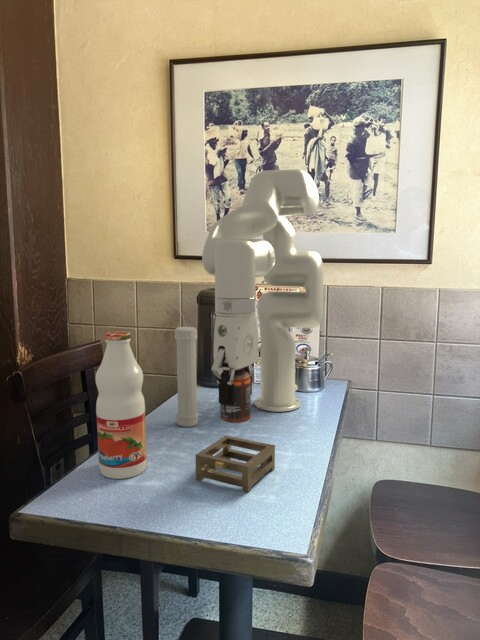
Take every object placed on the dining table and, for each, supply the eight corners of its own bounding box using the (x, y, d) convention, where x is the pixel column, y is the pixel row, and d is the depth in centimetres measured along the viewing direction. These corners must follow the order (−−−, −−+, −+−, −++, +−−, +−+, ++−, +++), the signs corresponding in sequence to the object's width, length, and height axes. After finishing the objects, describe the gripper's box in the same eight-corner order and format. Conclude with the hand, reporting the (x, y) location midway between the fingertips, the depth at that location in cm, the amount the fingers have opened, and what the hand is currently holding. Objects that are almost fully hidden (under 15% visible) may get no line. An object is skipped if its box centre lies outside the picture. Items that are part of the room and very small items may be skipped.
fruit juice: (154, 462, 109) (150, 329, 105) (134, 482, 100) (129, 338, 96) (113, 457, 112) (107, 327, 107) (90, 477, 103) (82, 336, 98)
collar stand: (225, 457, 111) (225, 435, 111) (274, 469, 106) (274, 445, 105) (193, 481, 101) (193, 456, 100) (246, 494, 95) (245, 468, 95)
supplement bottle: (249, 413, 105) (249, 358, 103) (252, 423, 99) (252, 365, 97) (219, 414, 105) (218, 358, 103) (220, 424, 99) (220, 365, 97)
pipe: (195, 428, 129) (193, 306, 124) (170, 426, 130) (167, 306, 125) (201, 420, 134) (199, 303, 129) (177, 418, 135) (175, 303, 131)
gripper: (229, 313, 89) (230, 415, 92) (273, 302, 104) (272, 390, 107) (192, 310, 93) (194, 409, 96) (240, 300, 108) (240, 386, 111)
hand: (235, 398), depth 101 cm, fingers closed on supplement bottle, 6 cm apart
